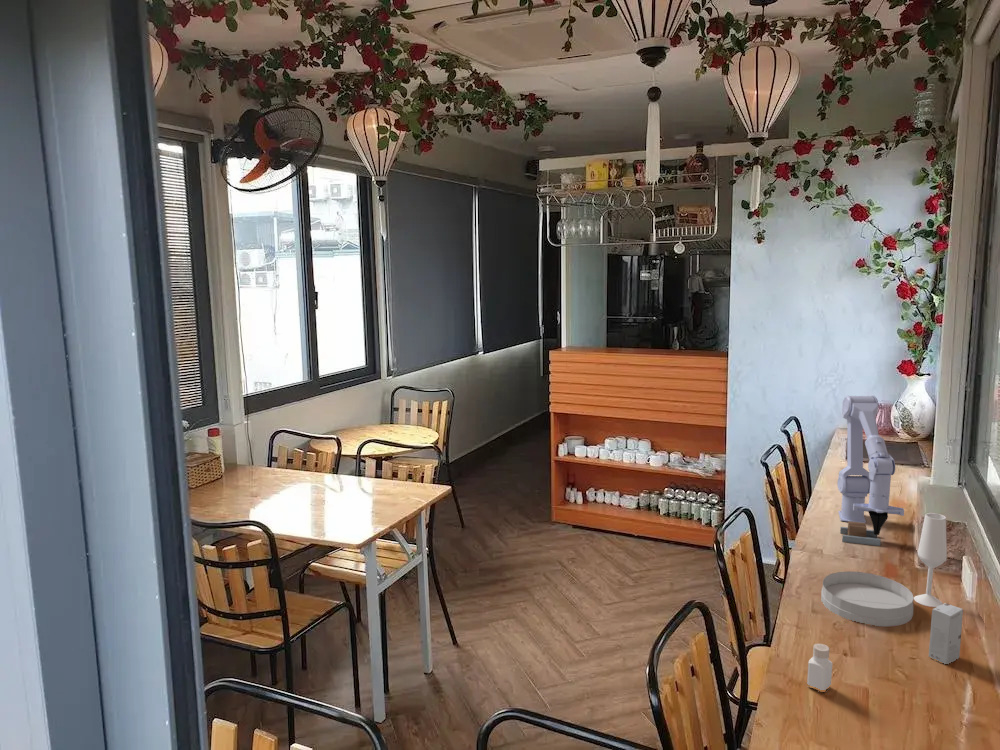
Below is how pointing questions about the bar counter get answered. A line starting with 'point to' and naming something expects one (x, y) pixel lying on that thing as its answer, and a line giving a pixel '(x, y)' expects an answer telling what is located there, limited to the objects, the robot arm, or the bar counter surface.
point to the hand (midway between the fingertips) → (876, 533)
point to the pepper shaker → (820, 668)
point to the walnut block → (856, 529)
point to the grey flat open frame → (868, 540)
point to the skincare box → (945, 633)
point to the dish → (867, 598)
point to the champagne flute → (932, 552)
